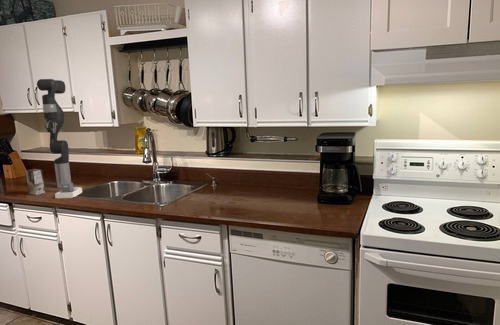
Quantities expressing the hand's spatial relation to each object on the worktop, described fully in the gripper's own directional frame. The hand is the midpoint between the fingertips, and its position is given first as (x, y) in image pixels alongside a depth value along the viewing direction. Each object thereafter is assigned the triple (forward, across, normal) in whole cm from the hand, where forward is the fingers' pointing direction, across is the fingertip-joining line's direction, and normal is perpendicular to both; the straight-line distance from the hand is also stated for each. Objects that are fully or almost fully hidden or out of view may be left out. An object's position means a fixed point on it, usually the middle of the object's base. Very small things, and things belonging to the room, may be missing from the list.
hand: (53, 138), depth 238 cm
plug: (+36, +3, +7) cm, 37 cm away
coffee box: (+37, -6, -18) cm, 42 cm away
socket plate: (+37, +2, +7) cm, 38 cm away
